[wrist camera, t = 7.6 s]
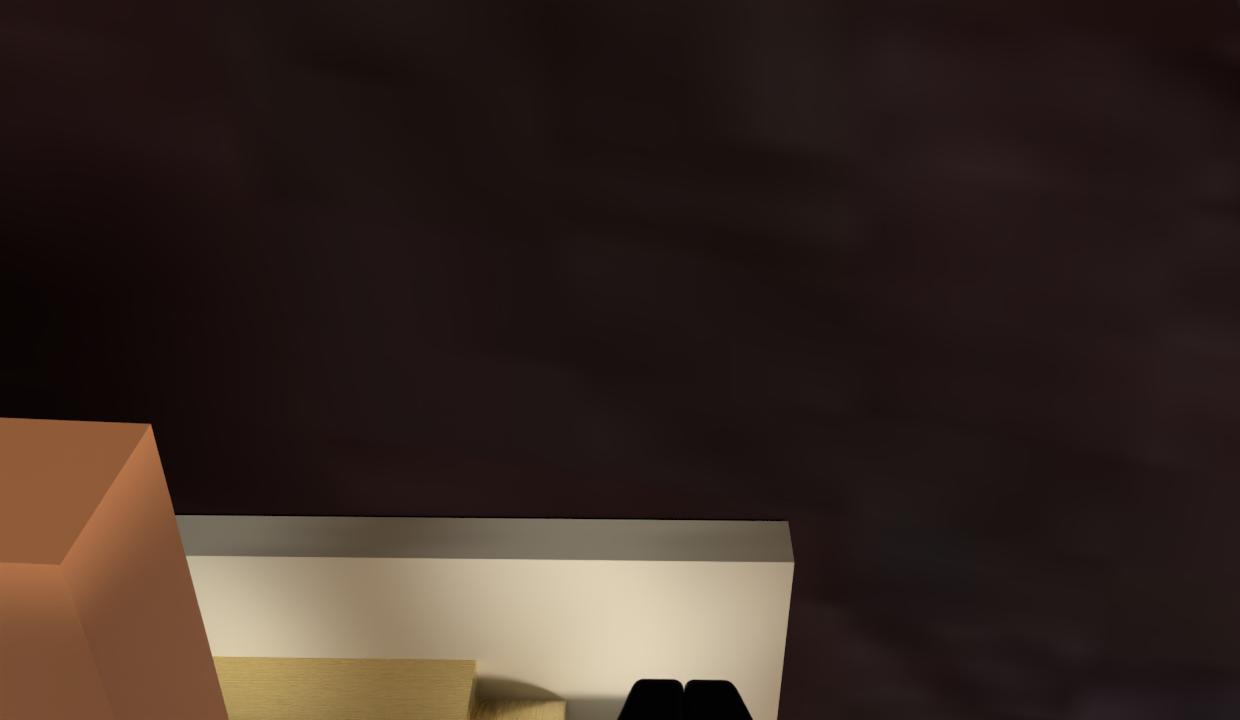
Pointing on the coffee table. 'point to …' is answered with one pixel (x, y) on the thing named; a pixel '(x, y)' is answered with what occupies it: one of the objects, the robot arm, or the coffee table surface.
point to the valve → (366, 690)
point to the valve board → (506, 599)
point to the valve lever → (95, 580)
